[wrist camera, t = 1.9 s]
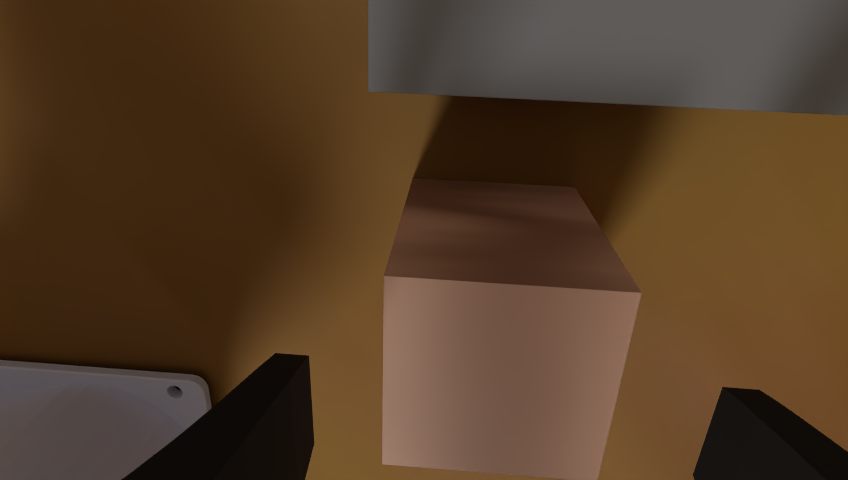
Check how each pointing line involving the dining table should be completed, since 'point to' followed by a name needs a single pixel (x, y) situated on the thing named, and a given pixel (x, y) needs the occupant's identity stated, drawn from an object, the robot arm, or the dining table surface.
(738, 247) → the dining table surface
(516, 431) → the terracotta block
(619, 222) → the dining table surface
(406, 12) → the charcoal plinth
